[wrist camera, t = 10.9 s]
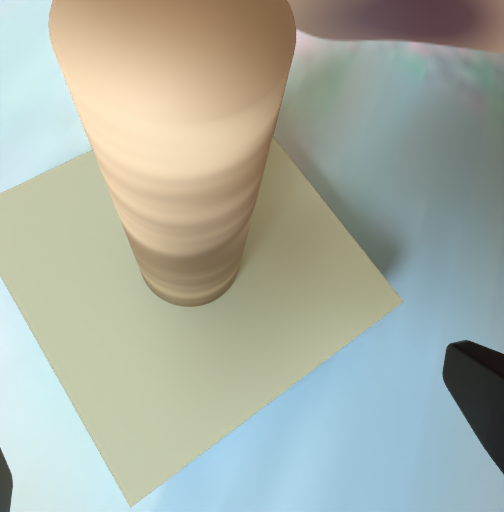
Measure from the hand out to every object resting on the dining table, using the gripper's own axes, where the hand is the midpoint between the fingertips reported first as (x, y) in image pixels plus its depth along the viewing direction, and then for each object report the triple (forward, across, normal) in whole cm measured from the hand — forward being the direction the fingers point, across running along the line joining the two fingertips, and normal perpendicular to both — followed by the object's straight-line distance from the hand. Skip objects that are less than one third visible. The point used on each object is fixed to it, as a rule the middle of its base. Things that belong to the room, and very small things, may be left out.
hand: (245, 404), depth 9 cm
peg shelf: (+14, 0, +5) cm, 15 cm away
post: (+11, 0, +2) cm, 12 cm away
